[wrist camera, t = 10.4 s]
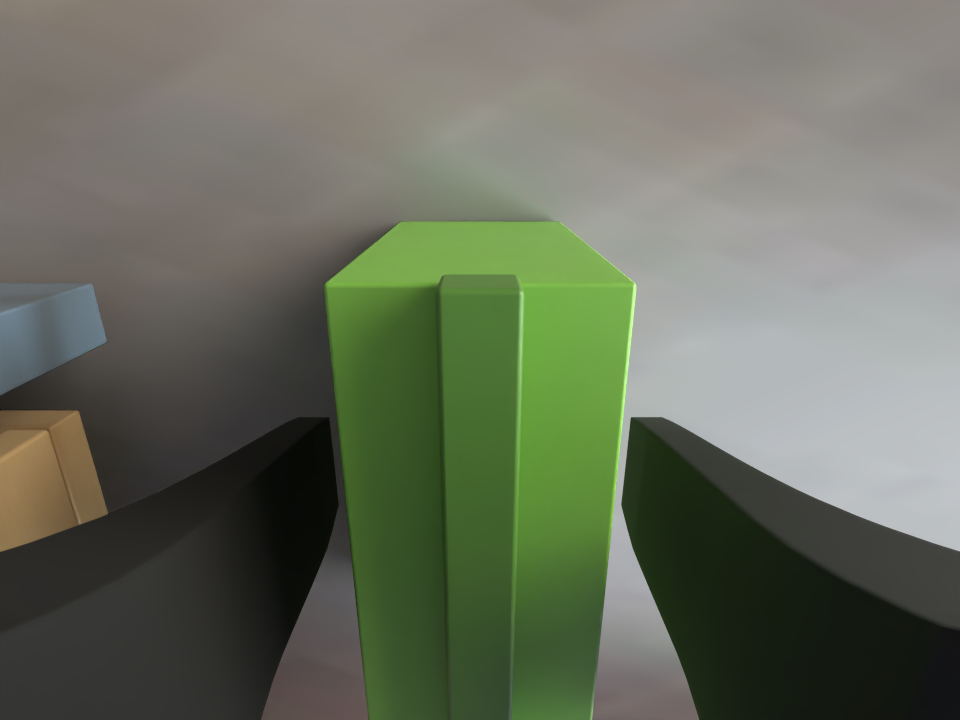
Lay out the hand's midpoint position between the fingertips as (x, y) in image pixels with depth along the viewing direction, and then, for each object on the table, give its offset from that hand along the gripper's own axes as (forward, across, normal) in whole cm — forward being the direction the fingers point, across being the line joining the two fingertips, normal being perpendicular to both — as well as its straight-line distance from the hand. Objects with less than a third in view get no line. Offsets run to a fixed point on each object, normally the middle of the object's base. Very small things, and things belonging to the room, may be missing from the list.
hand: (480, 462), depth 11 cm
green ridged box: (+2, 0, 0) cm, 2 cm away
